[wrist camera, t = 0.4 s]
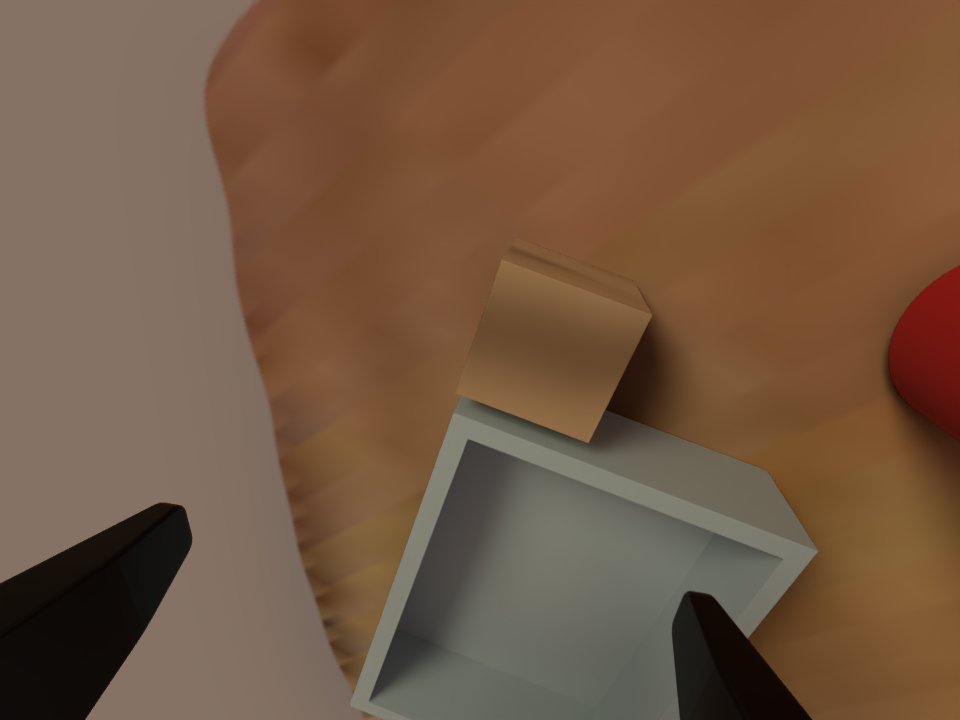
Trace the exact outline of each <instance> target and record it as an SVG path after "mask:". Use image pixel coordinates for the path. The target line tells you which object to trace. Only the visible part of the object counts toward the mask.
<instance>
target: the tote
mask: <svg viewBox="0 0 960 720" xmlns="http://www.w3.org/2000/svg"><path fill="white" fill-rule="evenodd" d="M817 552H818V550H817V548H816V547H815V545H814V544H813V542H812V541H811V539H810V537H809V536H808V534H807V533H806V531H805V530H804V528H803V527H802V525H801V523H800V522H799V520H798V519H797V517H796V516H795V514H794V513H793V511H792V509H791V508H790V506H789V505H788V503H787V502H786V500H785V499H784V497H783V495H782V494H781V492H780V491H779V489H778V488H777V486H776V485H775V483H774V481H773V480H772V478H771V477H770V475H769V474H768V472H767V471H766V470H764V469H761V468H758V467H756V466H753V465H750V464H748V463H745V462H743V461H740V460H737V459H735V458H732V457H729V456H727V455H724V454H721V453H719V452H716V451H713V450H711V449H708V448H705V447H703V446H700V445H697V444H695V443H692V442H689V441H687V440H684V439H681V438H679V437H676V436H673V435H671V434H668V433H665V432H663V431H660V430H657V429H655V428H652V427H649V426H647V425H644V424H641V423H639V422H636V421H633V420H631V419H628V418H625V417H623V416H620V415H618V414H615V413H612V412H610V411H607V410H605V411H604V413H603V415H602V417H601V419H600V421H599V423H598V425H597V427H596V429H595V431H594V433H593V435H592V437H591V439H590V441H589V443H587V442H584V441H581V440H579V439H576V438H573V437H571V436H568V435H565V434H563V433H560V432H557V431H555V430H552V429H549V428H547V427H544V426H541V425H539V424H536V423H533V422H531V421H528V420H526V419H523V418H520V417H518V416H515V415H512V414H510V413H507V412H504V411H502V410H499V409H496V408H494V407H491V406H488V405H486V404H483V403H480V402H478V401H475V400H472V399H470V398H467V397H465V396H461V398H460V400H459V402H458V404H457V407H456V409H455V411H454V413H453V416H452V419H451V422H450V424H449V427H448V430H447V433H446V436H445V439H444V441H443V444H442V447H441V450H440V453H439V455H438V458H437V461H436V464H435V467H434V470H433V472H432V475H431V478H430V481H429V484H428V486H427V489H426V492H425V495H424V498H423V501H422V503H421V506H420V509H419V512H418V515H417V517H416V520H415V523H414V526H413V529H412V532H411V534H410V537H409V540H408V543H407V546H406V548H405V551H404V554H403V557H402V560H401V563H400V565H399V568H398V571H397V574H396V577H395V579H394V582H393V585H392V588H391V591H390V594H389V596H388V599H387V602H386V605H385V608H384V610H383V613H382V616H381V619H380V622H379V625H378V627H377V630H376V633H375V636H374V639H373V641H372V644H371V647H370V650H369V653H368V656H367V658H366V661H365V664H364V667H363V670H362V672H361V675H360V678H359V681H358V684H357V687H356V689H355V692H354V695H353V698H352V701H351V703H350V706H352V707H354V708H357V709H359V710H362V711H364V712H367V713H369V714H372V715H374V716H377V717H379V718H382V719H384V720H680V717H679V706H678V696H677V685H676V675H675V665H674V654H673V644H672V623H673V619H674V616H675V614H676V612H677V609H678V607H679V604H680V602H681V599H682V597H683V595H684V593H685V592H687V591H696V592H702V593H707V594H710V595H712V596H713V597H714V598H715V599H716V600H717V601H718V602H719V604H720V605H721V606H722V607H723V609H724V610H725V611H726V612H727V614H728V615H729V616H730V617H731V619H732V620H733V621H734V622H735V624H736V625H737V626H738V627H739V629H740V630H741V631H742V632H743V634H744V635H745V636H746V637H747V639H748V637H749V636H750V635H751V634H752V632H753V631H754V630H755V629H756V627H757V626H758V625H759V624H760V623H761V621H762V620H763V619H764V618H765V616H766V615H767V614H768V613H769V611H770V610H771V609H772V608H773V606H774V605H775V604H776V603H777V602H778V600H779V599H780V598H781V597H782V595H783V594H784V593H785V592H786V590H787V589H788V588H789V587H790V585H791V584H792V583H793V582H794V581H795V579H796V578H797V577H798V576H799V574H800V573H801V572H802V571H803V569H804V568H805V567H806V566H807V564H808V563H809V562H810V561H811V560H812V558H813V557H814V556H815V555H816V553H817Z"/></svg>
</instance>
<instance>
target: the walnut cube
mask: <svg viewBox="0 0 960 720" xmlns="http://www.w3.org/2000/svg"><path fill="white" fill-rule="evenodd" d="M651 317H652V313H651V312H650V310H649V308H648V306H647V304H646V302H645V301H644V299H643V297H642V295H641V293H640V292H639V290H638V288H637V286H636V284H635V282H634V281H633V280H630V279H627V278H625V277H622V276H619V275H616V274H614V273H611V272H608V271H606V270H603V269H600V268H597V267H595V266H592V265H589V264H586V263H584V262H581V261H578V260H576V259H573V258H570V257H567V256H565V255H562V254H559V253H557V252H554V251H551V250H548V249H546V248H543V247H540V246H537V245H535V244H532V243H529V242H527V241H524V240H521V239H518V238H516V240H515V241H514V242H513V244H512V245H511V247H510V248H509V250H508V251H507V253H506V254H505V256H504V257H503V259H502V260H501V263H500V266H499V269H498V272H497V275H496V278H495V280H494V283H493V286H492V289H491V292H490V295H489V298H488V301H487V303H486V306H485V309H484V312H483V315H482V318H481V321H480V323H479V326H478V329H477V332H476V335H475V338H474V341H473V343H472V346H471V349H470V352H469V355H468V358H467V361H466V363H465V366H464V369H463V372H462V375H461V378H460V381H459V384H458V386H457V389H456V392H455V393H457V394H459V395H462V396H465V397H467V398H470V399H472V400H475V401H478V402H480V403H483V404H486V405H488V406H491V407H494V408H496V409H499V410H502V411H504V412H507V413H510V414H512V415H515V416H518V417H520V418H523V419H526V420H528V421H531V422H533V423H536V424H539V425H541V426H544V427H547V428H549V429H552V430H555V431H557V432H560V433H563V434H565V435H568V436H571V437H573V438H576V439H579V440H581V441H584V442H587V443H589V441H590V439H591V437H592V435H593V433H594V431H595V429H596V427H597V425H598V423H599V421H600V419H601V417H602V415H603V413H604V411H605V409H606V407H607V405H608V403H609V401H610V399H611V397H612V395H613V393H614V391H615V389H616V387H617V385H618V383H619V381H620V379H621V377H622V375H623V373H624V371H625V369H626V367H627V365H628V363H629V361H630V359H631V357H632V355H633V353H634V351H635V349H636V347H637V345H638V343H639V341H640V339H641V337H642V335H643V333H644V331H645V329H646V327H647V325H648V323H649V321H650V319H651Z"/></svg>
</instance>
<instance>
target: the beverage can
mask: <svg viewBox="0 0 960 720" xmlns="http://www.w3.org/2000/svg"><path fill="white" fill-rule="evenodd" d="M889 369H890V374H891V377H892V380H893V382H894V385H895V387H896V388H897V390H898V392H899V393H900V395H901V396H902V397H903V398H904V399H905V401H906V402H907V403H908V404H910V405H911V406H912V407H913V408H914V409H916V410H917V411H919V412H920V413H921V414H923V415H924V416H925V417H927V418H928V419H929V420H931V421H932V422H933V423H935V424H936V425H937V426H939V427H940V428H942V429H943V430H944V431H946V432H947V433H948V434H950V435H951V436H952V437H954V438H955V439H956V440H958V441H959V442H960V266H958V267H956V268H954V269H952V270H950V271H949V272H947V273H946V274H944V275H942V276H941V277H939V278H938V279H937V280H935V281H934V282H933V283H931V284H930V285H929V286H928V287H927V288H925V289H924V290H923V291H922V292H921V293H920V294H919V295H918V296H917V297H916V298H915V299H914V300H913V302H912V303H911V304H910V305H909V307H908V308H907V309H906V311H905V312H904V314H903V315H902V317H901V319H900V320H899V322H898V324H897V326H896V328H895V331H894V333H893V336H892V339H891V343H890V349H889Z"/></svg>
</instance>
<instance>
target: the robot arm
mask: <svg viewBox="0 0 960 720" xmlns="http://www.w3.org/2000/svg"><path fill="white" fill-rule="evenodd" d="M191 544H192V533H191V529H190V526H189V522H188V518H187V514H186V510H185V508H184V507H183V506H181V505H176V504H170V503H158V504H155V505H153V506H151V507H149V508H147V509H145V510H143V511H141V512H139V513H137V514H135V515H133V516H131V517H129V518H127V519H126V520H124V521H122V522H120V523H118V524H116V525H114V526H112V527H110V528H108V529H106V530H104V531H102V532H100V533H98V534H96V535H94V536H92V537H90V538H88V539H86V540H84V541H82V542H80V543H78V544H77V545H75V546H73V547H71V548H69V549H67V550H65V551H63V552H61V553H59V554H57V555H55V556H53V557H51V558H49V559H47V560H45V561H43V562H41V563H39V564H37V565H36V566H33V567H31V568H29V569H28V570H26V571H24V572H22V573H20V574H18V575H16V576H14V577H12V578H10V579H8V580H6V581H4V582H2V583H0V720H85V719H86V718H87V716H88V715H89V713H90V712H91V710H92V709H93V707H94V706H95V704H96V703H97V701H98V699H99V698H100V697H101V695H102V694H103V692H104V691H105V689H106V688H107V687H108V685H109V684H110V682H111V680H112V679H113V678H114V676H115V674H116V673H117V672H118V670H119V669H120V667H121V666H122V664H123V663H124V661H125V660H126V658H127V657H128V655H129V654H130V653H131V651H132V650H133V648H134V646H135V645H136V644H137V642H138V640H139V639H140V637H141V636H142V634H143V633H144V631H145V629H146V628H147V626H148V624H149V622H150V621H151V619H152V618H153V616H154V614H155V612H156V610H157V608H158V607H159V605H160V603H161V601H162V599H163V598H164V596H165V594H166V592H167V590H168V588H169V587H170V585H171V583H172V581H173V579H174V577H175V576H176V574H177V572H178V570H179V568H180V567H181V565H182V563H183V561H184V559H185V558H186V556H187V554H188V552H189V550H190V548H191ZM672 644H673V654H674V665H675V675H676V685H677V696H678V706H679V717H680V720H812V719H811V717H810V716H809V715H808V714H807V712H806V711H805V710H804V709H803V707H802V706H801V705H800V704H799V702H798V701H797V700H796V699H795V697H794V696H793V695H792V694H791V692H790V691H789V690H788V689H787V687H786V686H785V685H784V684H783V682H782V681H781V680H780V679H779V677H778V676H777V675H776V674H775V672H774V671H773V670H772V669H771V667H770V666H769V665H768V664H767V662H766V661H765V660H764V659H763V657H762V656H761V655H760V654H759V652H758V651H757V650H756V649H755V647H754V646H753V645H752V644H751V642H750V641H749V640H748V639H747V637H746V636H745V635H744V634H743V632H742V631H741V630H740V629H739V627H738V626H737V625H736V624H735V622H734V621H733V620H732V619H731V617H730V616H729V615H728V614H727V612H726V611H725V610H724V609H723V607H722V606H721V605H720V604H719V602H718V601H717V600H716V599H715V598H714V597H713V596H712V595H710V594H707V593H702V592H696V591H687V592H685V593H684V595H683V597H682V599H681V602H680V604H679V607H678V609H677V612H676V614H675V616H674V619H673V623H672Z"/></svg>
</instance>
